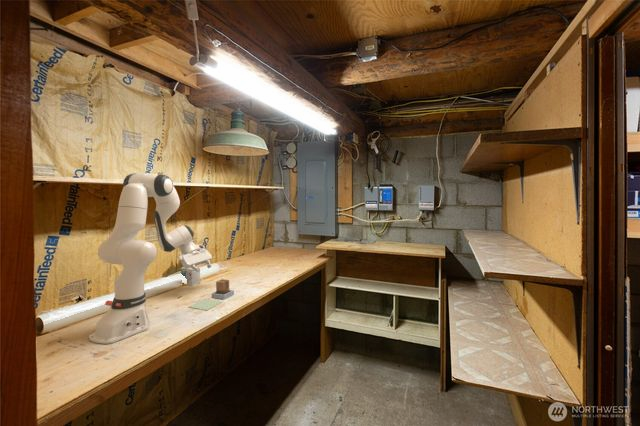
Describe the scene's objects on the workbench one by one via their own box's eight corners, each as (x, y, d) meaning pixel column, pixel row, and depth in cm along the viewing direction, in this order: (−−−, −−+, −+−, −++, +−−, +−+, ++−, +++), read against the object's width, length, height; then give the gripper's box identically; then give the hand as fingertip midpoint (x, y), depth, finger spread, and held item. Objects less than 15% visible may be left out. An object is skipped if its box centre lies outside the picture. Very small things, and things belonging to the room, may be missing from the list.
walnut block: (223, 298, 169) (223, 282, 169) (216, 297, 171) (216, 281, 171) (229, 295, 174) (229, 280, 173) (222, 294, 176) (221, 279, 175)
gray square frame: (224, 299, 167) (224, 295, 167) (211, 297, 170) (211, 293, 170) (234, 294, 175) (233, 290, 175) (221, 292, 178) (221, 288, 178)
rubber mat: (206, 310, 152) (206, 309, 152) (188, 307, 156) (188, 306, 156) (222, 302, 163) (222, 301, 163) (204, 299, 167) (204, 298, 167)
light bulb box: (180, 283, 196) (180, 267, 195) (189, 281, 202) (189, 265, 201) (192, 286, 191) (191, 269, 190) (200, 283, 197) (200, 267, 196)
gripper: (179, 251, 168) (194, 270, 165) (205, 245, 187) (219, 262, 185) (174, 258, 170) (188, 277, 167) (200, 251, 189) (213, 268, 186)
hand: (204, 269), depth 176 cm, fingers open, 8 cm apart
